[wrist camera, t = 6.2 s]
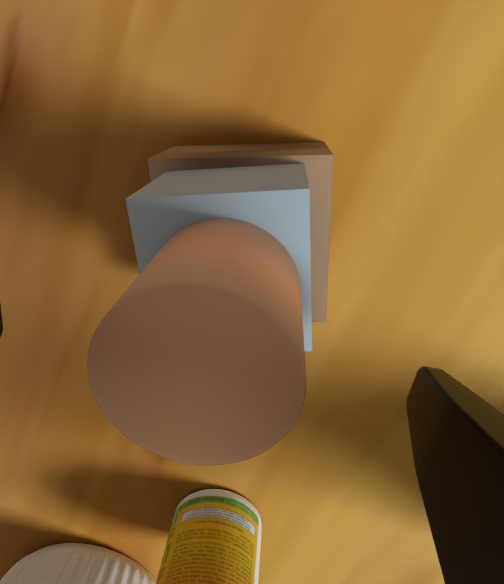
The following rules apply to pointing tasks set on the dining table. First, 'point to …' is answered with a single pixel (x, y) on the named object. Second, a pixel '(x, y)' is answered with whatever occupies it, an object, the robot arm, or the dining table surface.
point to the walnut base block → (247, 155)
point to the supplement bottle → (213, 541)
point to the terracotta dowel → (205, 347)
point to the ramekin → (77, 567)
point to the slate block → (229, 212)
